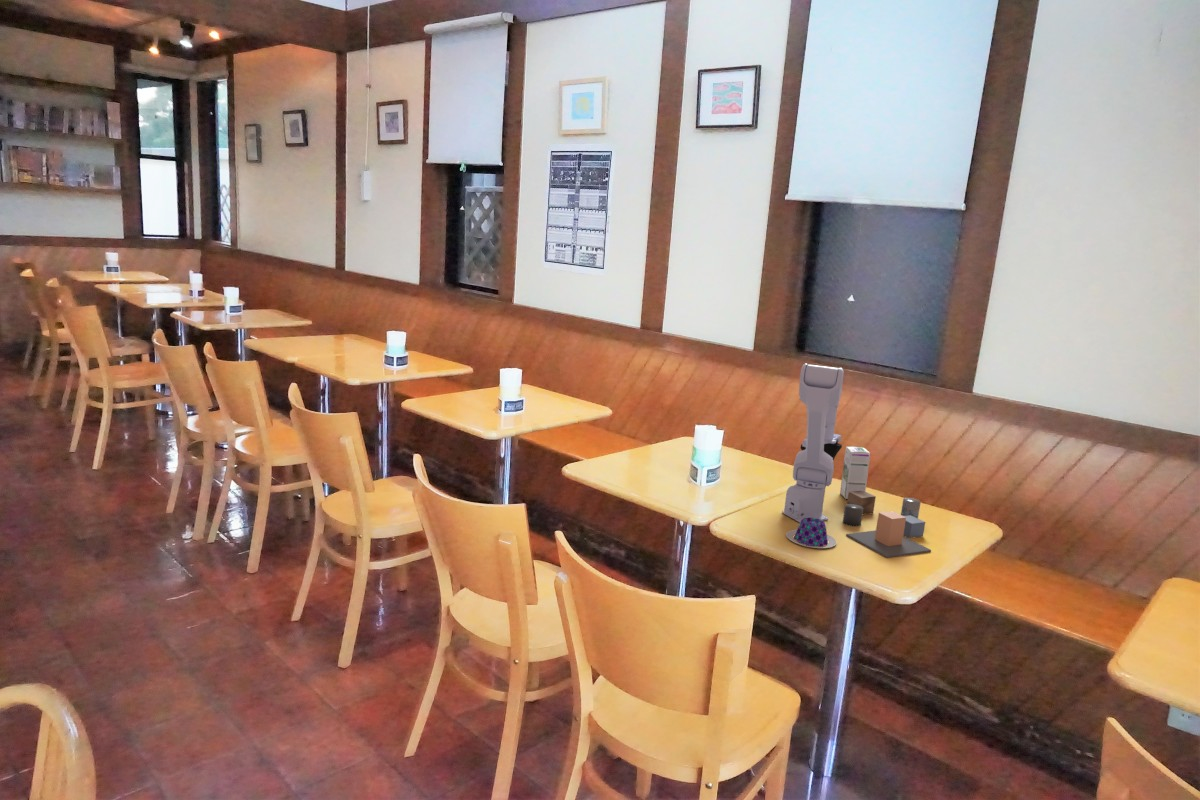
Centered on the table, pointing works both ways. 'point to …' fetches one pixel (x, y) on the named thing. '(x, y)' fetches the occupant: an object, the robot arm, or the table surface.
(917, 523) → the slate blue block
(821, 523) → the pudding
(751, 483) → the table surface
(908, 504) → the dark steel can
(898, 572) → the table surface
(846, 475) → the syrup box
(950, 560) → the table surface
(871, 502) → the walnut block
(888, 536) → the terracotta block
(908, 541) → the charcoal mat
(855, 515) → the charcoal cylinder
